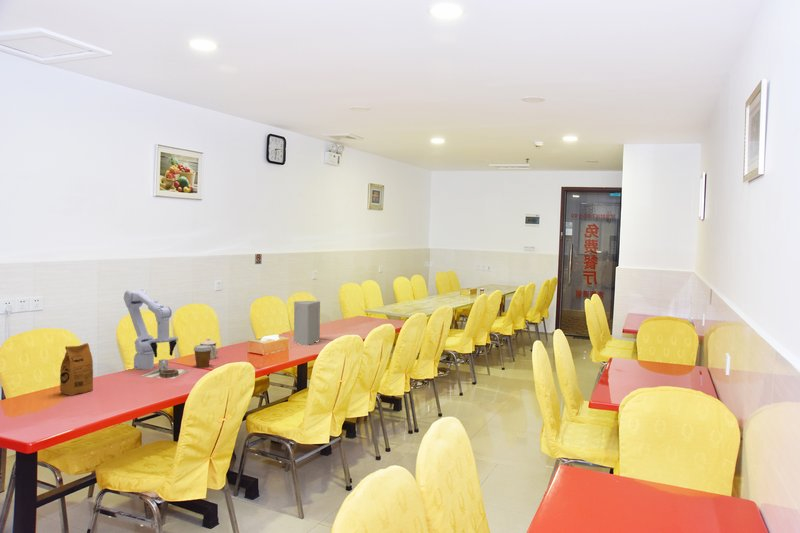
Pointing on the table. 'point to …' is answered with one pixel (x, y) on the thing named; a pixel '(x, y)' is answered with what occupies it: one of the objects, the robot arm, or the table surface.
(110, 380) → the table surface
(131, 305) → the robot arm
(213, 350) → the teacup with lid
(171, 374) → the ring collar
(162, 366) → the piston
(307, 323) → the grey block
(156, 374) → the plate
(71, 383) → the coffee package
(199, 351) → the disposable coffee cup
